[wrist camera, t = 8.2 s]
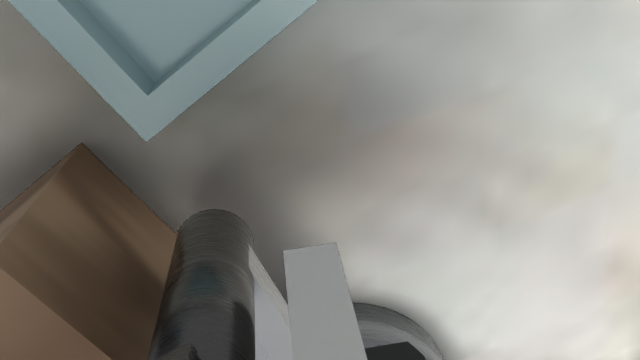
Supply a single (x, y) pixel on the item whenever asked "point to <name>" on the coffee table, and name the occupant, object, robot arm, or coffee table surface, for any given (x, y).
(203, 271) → the crank
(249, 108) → the coffee table surface
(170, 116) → the tray
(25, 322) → the stop block
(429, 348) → the crank base
